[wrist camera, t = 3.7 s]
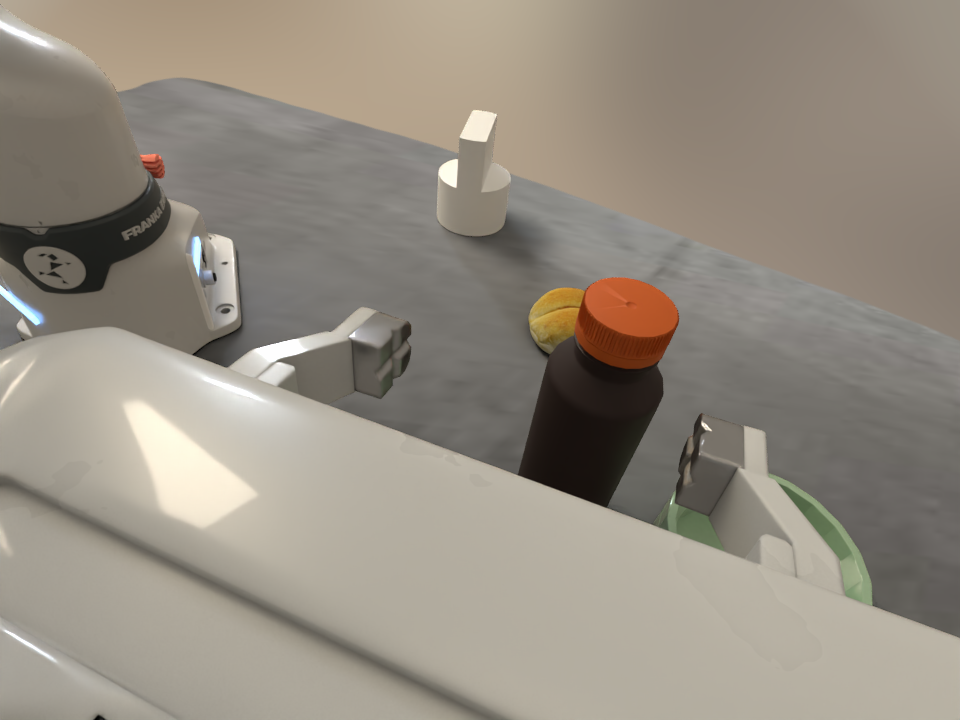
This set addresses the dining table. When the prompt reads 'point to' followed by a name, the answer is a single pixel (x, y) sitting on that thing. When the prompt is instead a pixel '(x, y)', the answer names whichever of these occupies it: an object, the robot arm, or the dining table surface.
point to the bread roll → (555, 317)
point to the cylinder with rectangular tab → (474, 182)
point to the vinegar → (600, 390)
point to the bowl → (816, 514)
